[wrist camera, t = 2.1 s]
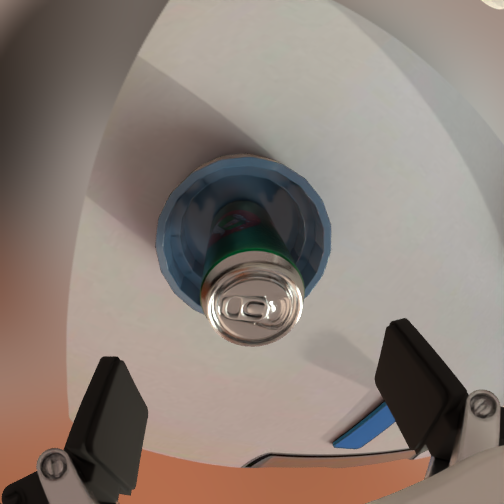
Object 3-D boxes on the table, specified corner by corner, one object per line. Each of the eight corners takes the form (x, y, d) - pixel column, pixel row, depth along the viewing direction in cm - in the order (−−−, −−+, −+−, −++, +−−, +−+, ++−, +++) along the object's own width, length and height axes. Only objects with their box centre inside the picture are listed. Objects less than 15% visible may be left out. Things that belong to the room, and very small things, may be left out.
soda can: (265, 261, 25) (293, 356, 14) (206, 252, 24) (193, 346, 13) (278, 204, 23) (324, 267, 12) (216, 193, 22) (205, 249, 11)
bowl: (158, 165, 22) (141, 171, 17) (308, 148, 22) (329, 151, 18) (183, 297, 26) (176, 329, 22) (312, 282, 27) (329, 311, 22)
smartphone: (330, 447, 39) (396, 395, 34) (329, 443, 39) (394, 390, 35) (358, 449, 41) (420, 400, 36) (357, 445, 41) (417, 396, 37)
